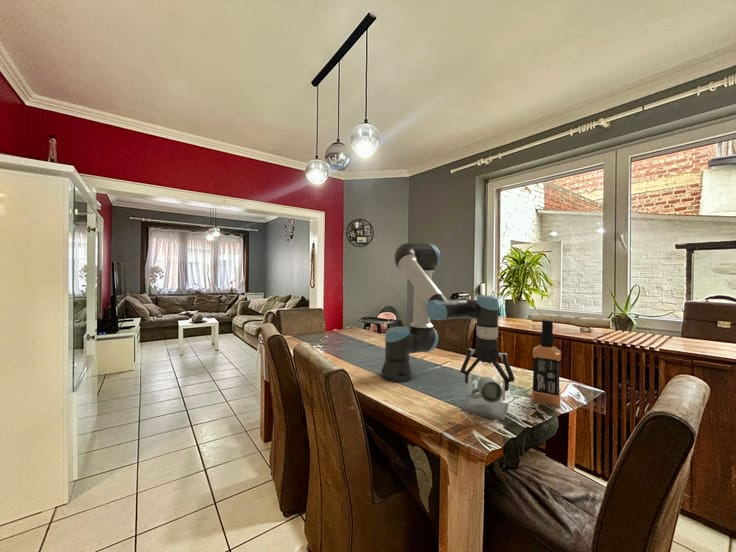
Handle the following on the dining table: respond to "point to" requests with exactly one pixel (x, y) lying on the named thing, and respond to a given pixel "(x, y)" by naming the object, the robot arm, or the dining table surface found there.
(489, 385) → the ceramic mug
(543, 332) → the whiskey bottle
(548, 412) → the dining table surface
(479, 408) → the trivet
